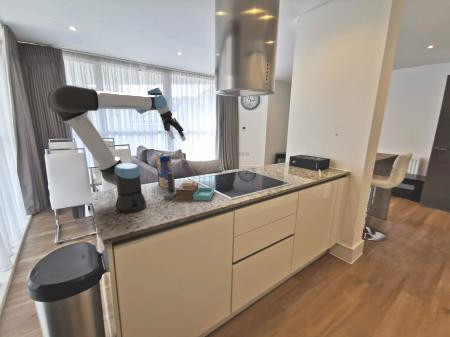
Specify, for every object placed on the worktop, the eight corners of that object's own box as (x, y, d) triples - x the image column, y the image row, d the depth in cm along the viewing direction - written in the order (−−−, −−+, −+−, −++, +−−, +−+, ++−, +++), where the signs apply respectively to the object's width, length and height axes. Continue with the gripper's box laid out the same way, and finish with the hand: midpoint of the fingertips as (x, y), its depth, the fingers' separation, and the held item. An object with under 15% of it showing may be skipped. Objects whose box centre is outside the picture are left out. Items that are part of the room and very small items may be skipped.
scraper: (173, 199, 124) (172, 176, 121) (164, 199, 125) (162, 175, 122) (182, 191, 140) (181, 170, 137) (173, 191, 140) (172, 170, 137)
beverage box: (167, 182, 159) (165, 154, 155) (172, 186, 150) (170, 156, 146) (158, 184, 156) (156, 155, 151) (163, 187, 147) (160, 157, 142)
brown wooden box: (192, 199, 124) (192, 189, 123) (176, 199, 125) (176, 189, 124) (198, 192, 137) (198, 183, 136) (183, 191, 138) (183, 182, 137)
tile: (191, 187, 127) (191, 183, 126) (182, 187, 127) (182, 182, 127) (194, 185, 132) (194, 180, 132) (185, 184, 133) (185, 180, 132)
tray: (209, 200, 122) (209, 195, 121) (193, 199, 123) (193, 195, 123) (214, 192, 137) (214, 187, 136) (199, 191, 138) (199, 187, 137)
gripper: (179, 108, 129) (193, 138, 140) (159, 109, 146) (172, 135, 157) (170, 114, 125) (185, 144, 137) (150, 114, 142) (165, 140, 153)
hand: (178, 139), depth 147 cm, fingers open, 13 cm apart
